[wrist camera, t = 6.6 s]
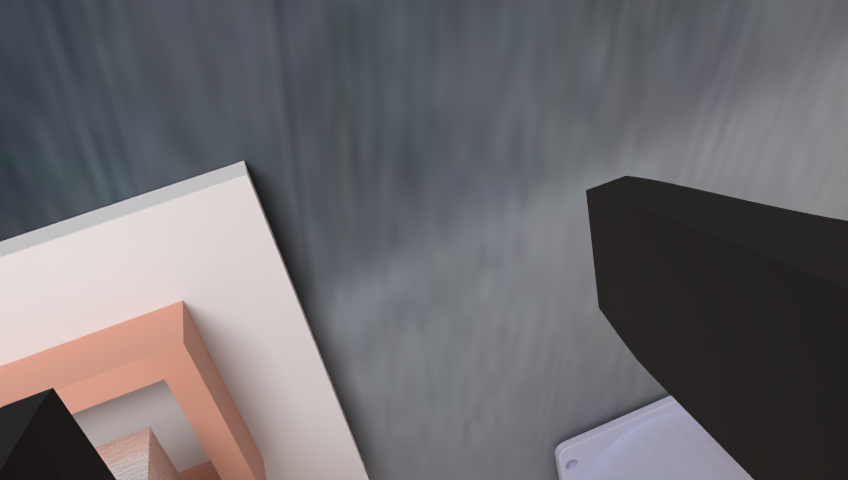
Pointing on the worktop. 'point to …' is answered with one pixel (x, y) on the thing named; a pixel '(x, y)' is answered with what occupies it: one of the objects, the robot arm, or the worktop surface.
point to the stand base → (176, 334)
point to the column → (138, 458)
